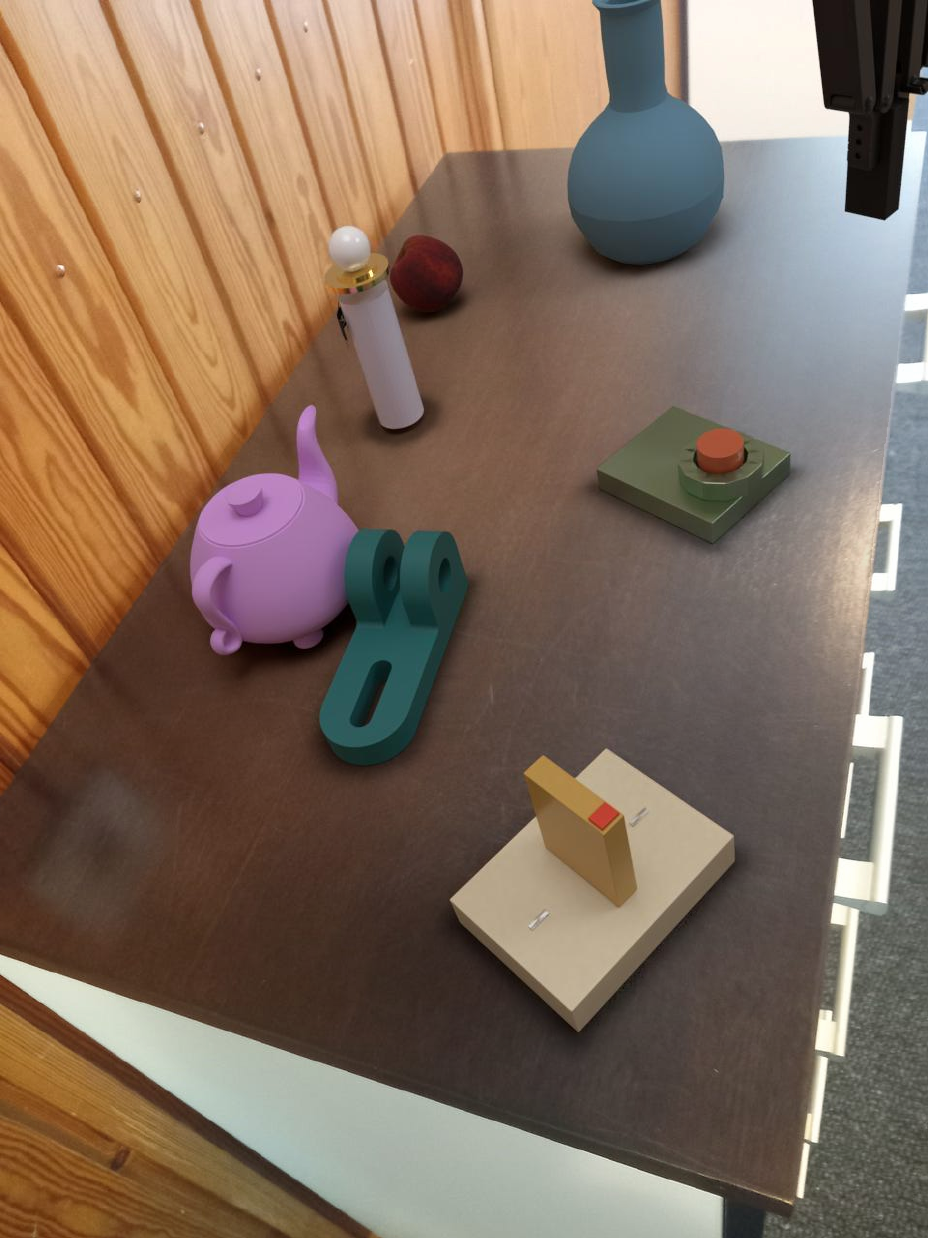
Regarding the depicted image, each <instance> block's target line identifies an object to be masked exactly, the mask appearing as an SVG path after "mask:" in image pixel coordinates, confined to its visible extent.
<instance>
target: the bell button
mask: <svg viewBox="0 0 928 1238" xmlns="http://www.w3.org/2000/svg"><path fill="white" fill-rule="evenodd" d="M730 429H731V428H730ZM730 429H714V430H711V431H708V432H706V433H704V434H703V435H701V436H700V438H699V439H698V441H697V444H696V447H697V463H698V465H699V467H700V468H701V469H702V470H703V471H705V472H707V473H710V474H725V473H728V472H731V471H734V470H737V469H738V468H739V467H740V466H741V465H742V464H743V462H744V440H743V437H742V436H741V435H740V434H739V433H738V432H739V431H738V432H736V431H737V430H735V429H732V430H730ZM734 430H735V431H734Z"/></svg>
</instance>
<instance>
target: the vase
mask: <svg viewBox="0 0 928 1238" xmlns="http://www.w3.org/2000/svg"><path fill="white" fill-rule="evenodd" d="M591 3H592V5H593V6H594V8H596V10H597V11H598V12H599V22H600V23H599V24H600V35H601V44H602V52H603V62H604V69H605V74H606V75H605V76H606V82H607V88H608V96H609V98H608V103H607V105H606V106H605V108H604V109H603V111H601V113H599V114H598V115H597V116H596V117H595V119H593V121H592V122H591V123H590V124H589V125H588V126H587V128H586V129H585V130H584V132H583V133H582V134H581V136H580V137H579V138H578V140H577V143H576V145H575V147H574V148H573V151H572V153H571V158H570V163H569V167H568V171H567V183H566V184H567V185H566V187H567V203H568V206H569V210H570V215H571V218H572V220H573V222H574V223H575V225H576V227H577V228H578V229H579V230H578V231H579V232H580V233H581V234H582V236H583V237H584V238H585V239H586V240H587V242H588V244H590V245H591V247H593V249H595V251H596V252H597V253H598V254H599V255H601V256H603V257H606V258H608V259H610V260H612V261H615V262H618V263H621V264H625V265H636V266H645V265H652V264H660V263H662V262H665V261H669V260H671V259H675V258H677V257H679V256H681V255H682V254H683V253H685V252H687V251H688V250H690V249H691V248H693V247H694V246H695V245H696V244H697V243H698V242H700V241H701V240H702V239H703V236H704V235H705V234H706V232H707V231H708V230H709V228H710V226H711V225H712V223H713V221H714V219H715V217H716V215H717V214H718V212H719V209H720V207H721V204H722V201H723V199H724V191H725V190H724V189H725V162H724V155H723V154H724V153H723V147H722V145H721V142H720V141H719V140H720V139H719V138H718V136H717V134H716V131H715V130H714V128H713V127H712V126H711V124H709V122H708V120H706V118H705V117H704V116H702V115H701V113H699V112H698V111H697V110H696V109H695V108H693V106H691V105H690V104H688V103H687V102H685V101H684V100H682V99H680V98H678V97H675V96H673V95H671V93H669V92H668V88H667V85H666V67H665V66H666V62H665V61H666V59H665V58H666V57H665V56H666V55H665V37H664V36H665V35H664V20H663V19H664V18H663V9H662V0H591Z"/></svg>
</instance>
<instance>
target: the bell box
mask: <svg viewBox="0 0 928 1238" xmlns="http://www.w3.org/2000/svg"><path fill="white" fill-rule="evenodd" d="M714 429H730V430H734V431H736V432H738V433H739V434H740V435H741V436H742V437H743V440H744V462H743V464H742V465H741V466H740V467H739V468H738V469H737V470H734V471H731V472H728V473H725V474H710V473H707V472H705V471H703V470H702V469H701V468H700V467H699V465H698V463H697V447H696V444H697V441H698V439H699V438H700V436H701V435H703V434H704V433H706V432H708V431H711V430H714ZM791 454H792V453H791V452H790V451H788V450H785V449H783V448H779V447H777V446H775V445H773V444H769V443H767V442H765V441H763V440H760V439H757V438H755V437H753V436H751V435H748V434H746V433H743V432H741V431H739V430H738V431H737V430H735V429H732V428H730V427H728V426H725V425H722V424H720V423H717V422H714V421H712V420H709V419H707V418H705V417H701V416H699V415H697V414H694V413H692V412H689V411H686V410H684V409H682V408H680V407H677V406H675V405H672V406H671V407H670V408H668V409H667V410H666V411H665V412H664V413H662V414H661V415H660V416H659V417H657V418H656V419H655V420H654V421H653V422H652V423H650V424H649V425H647V427H645V428H644V429H643V430H641V432H640V433H638V434H636V436H634V437H633V438H632V439H630V441H629V442H627V443H626V444H625V445H624V446H622V447H621V448H620V449H619V450H617V451H616V452H615V453H614V454H612V455H611V456H610V457H609V458H608V459H606V460H605V461H604V462H603V463H602V464H600V465H599V466H598V467H597V468H596V476H597V483H598V488H599V489H600V490H601V491H604V492H605V493H608V494H609V495H611V496H613V497H617V498H618V499H620V500H621V501H624V502H626V503H628V504H630V505H632V506H635V507H637V508H639V509H640V510H642V511H645V512H647V513H648V514H651V515H652V516H655V517H657V518H659V519H661V520H663V521H665V522H667V523H669V524H671V525H673V526H676V527H678V528H680V529H681V530H683V531H686V532H688V533H690V534H691V535H694V536H696V537H698V538H700V539H702V540H705V541H706V542H709V543H711V544H715V542H717V541H718V540H720V539H721V537H722V536H723V535H725V534H726V533H727V532H728V531H729V530H730V529H731V528H732V527H733V526H735V525H736V524H737V523H738V522H739V521H740V520H741V519H742V518H744V516H745V515H746V514H748V513H749V512H750V511H751V510H752V509H753V508H754V507H755V506H756V505H758V504H759V503H760V502H761V501H762V500H763V499H764V498H765V497H766V496H767V495H769V494H770V493H771V492H772V491H773V490H774V489H775V488H776V487H778V485H779V484H781V482H783V481H784V480H785V479H786V478H787V477H788V476H789V475H790V474H791Z"/></svg>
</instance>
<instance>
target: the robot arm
mask: <svg viewBox="0 0 928 1238" xmlns="http://www.w3.org/2000/svg"><path fill="white" fill-rule="evenodd" d="M811 3H812V11H813V20H814V29H815V37H816V46H817V56H818V65H819V74H820V82H821V83H820V84H821V90H822V100H823V106H824V108H825V109H826V110H830V111H836V112H843V113H848V134H847V147H846V148H847V151H846V179H845V181H846V182H845V195H844V197H845V198H844V212H845V213H849V214H853V215H858V216H862V217H867V218H871V219H876V220H880V221H884V222H885V221H886V220H887V219H888V218H890V217H891V216H892V215H894V214H895V213H896V212H897V211H899V210H900V209H899V208H900V200H901V189H902V179H903V169H904V159H905V149H906V148H905V147H906V140H907V139H906V137H907V128H908V119H909V107H910V95H911V94H912V95H918V96H926V94H927V93H928V77H924V76H921V70H923V68H927V69H928V0H811Z"/></svg>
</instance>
